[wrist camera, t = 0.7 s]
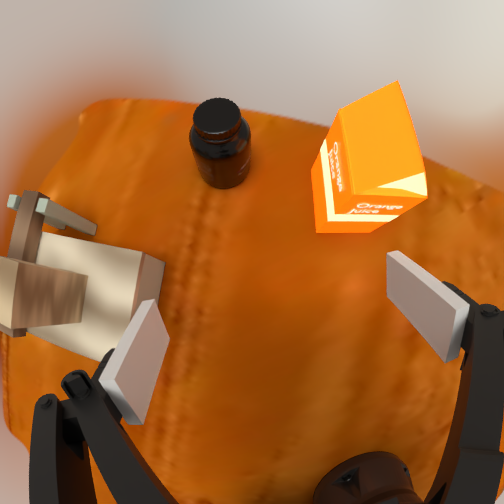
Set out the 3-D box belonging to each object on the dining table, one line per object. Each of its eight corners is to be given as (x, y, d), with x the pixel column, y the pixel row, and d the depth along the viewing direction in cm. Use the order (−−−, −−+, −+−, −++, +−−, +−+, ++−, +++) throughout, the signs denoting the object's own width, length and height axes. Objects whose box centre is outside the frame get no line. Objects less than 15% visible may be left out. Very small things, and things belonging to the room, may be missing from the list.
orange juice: (315, 233, 37) (378, 167, 17) (309, 169, 38) (354, 70, 19) (370, 233, 37) (463, 177, 17) (363, 172, 38) (433, 87, 19)
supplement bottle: (256, 183, 38) (258, 136, 26) (205, 195, 38) (187, 152, 26) (243, 139, 39) (242, 84, 27) (195, 151, 39) (177, 99, 27)
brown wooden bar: (25, 336, 25) (12, 337, 23) (11, 328, 25) (-1, 329, 23) (50, 198, 28) (38, 191, 26) (35, 196, 28) (24, 190, 26)
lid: (127, 367, 27) (63, 401, 15) (9, 320, 27) (-58, 321, 15) (145, 253, 28) (85, 225, 17) (24, 228, 29) (-42, 202, 17)
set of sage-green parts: (150, 354, 34) (109, 375, 23) (42, 318, 35) (-13, 319, 23) (170, 237, 37) (137, 210, 25) (60, 218, 37) (10, 194, 25)
